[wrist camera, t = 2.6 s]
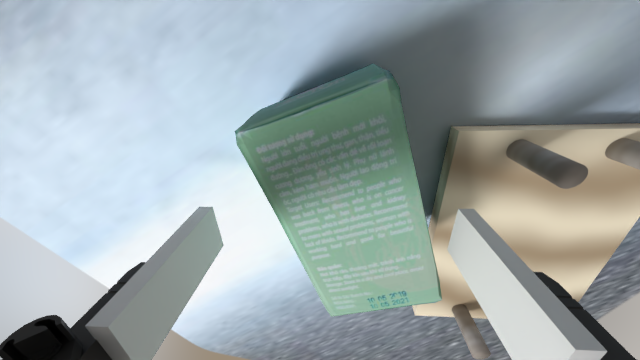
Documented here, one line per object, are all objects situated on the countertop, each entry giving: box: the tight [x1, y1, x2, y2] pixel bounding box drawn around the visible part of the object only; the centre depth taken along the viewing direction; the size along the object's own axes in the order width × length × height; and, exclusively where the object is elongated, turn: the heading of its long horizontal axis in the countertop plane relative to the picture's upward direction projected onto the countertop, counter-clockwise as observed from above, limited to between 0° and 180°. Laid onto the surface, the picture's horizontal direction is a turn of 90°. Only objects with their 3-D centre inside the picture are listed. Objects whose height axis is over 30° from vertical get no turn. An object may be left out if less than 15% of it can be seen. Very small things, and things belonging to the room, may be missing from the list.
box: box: [235, 64, 442, 316], centre depth 15 cm, size 7×14×8 cm, turn 21°
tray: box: [412, 123, 640, 359], centre depth 18 cm, size 19×14×5 cm
